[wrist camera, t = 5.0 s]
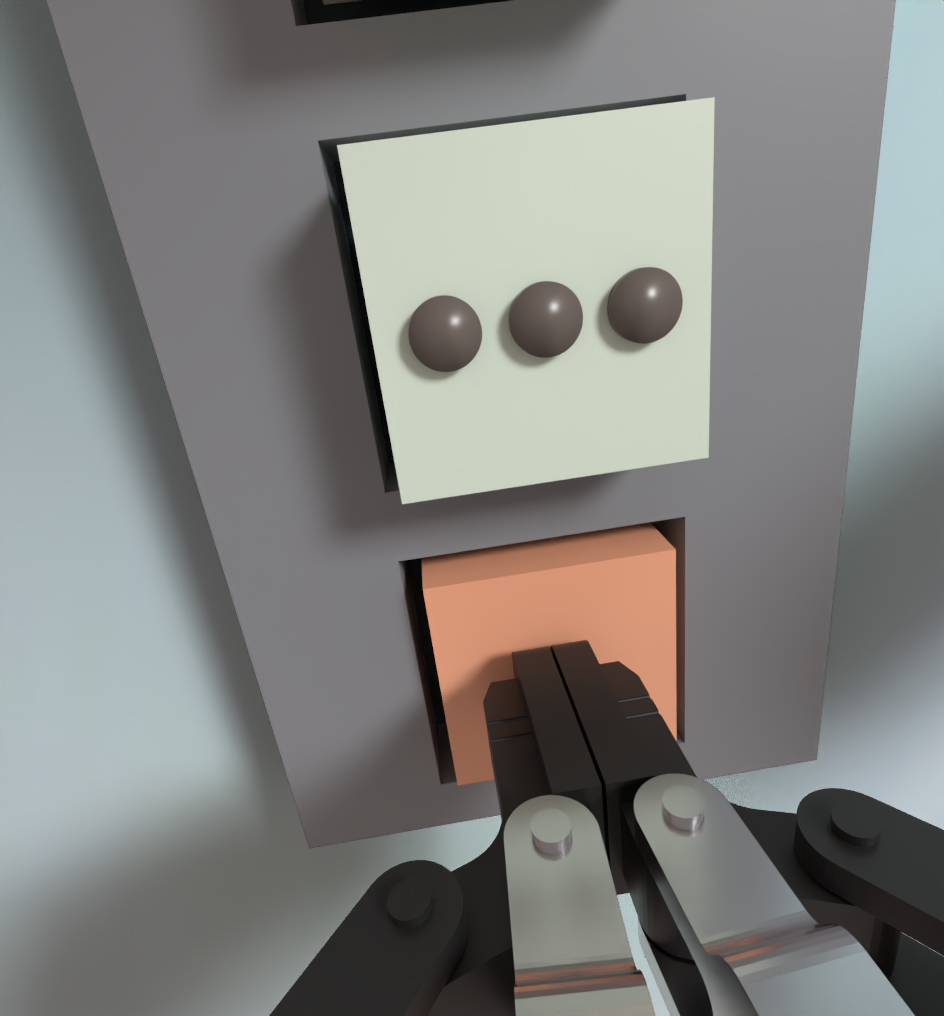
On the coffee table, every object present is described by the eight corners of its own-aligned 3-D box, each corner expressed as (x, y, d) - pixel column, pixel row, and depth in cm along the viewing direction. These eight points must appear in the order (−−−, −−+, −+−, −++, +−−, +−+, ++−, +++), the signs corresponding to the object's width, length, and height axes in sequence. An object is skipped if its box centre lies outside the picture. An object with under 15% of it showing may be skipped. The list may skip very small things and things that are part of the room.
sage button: (647, 135, 10) (721, 92, 8) (652, 422, 12) (714, 461, 9) (353, 173, 10) (334, 141, 7) (403, 459, 12) (402, 509, 9)
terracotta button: (632, 503, 14) (680, 554, 11) (638, 679, 16) (680, 754, 13) (420, 536, 14) (423, 594, 11) (450, 711, 15) (458, 793, 13)
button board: (856, -606, 8) (985, -858, 6) (770, 704, 16) (816, 759, 15) (-54, -536, 8) (-197, -784, 6) (321, 781, 16) (309, 848, 14)
